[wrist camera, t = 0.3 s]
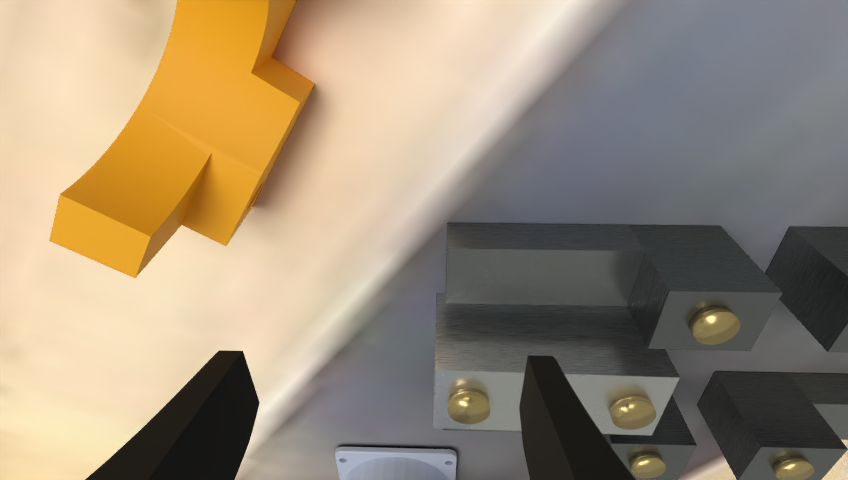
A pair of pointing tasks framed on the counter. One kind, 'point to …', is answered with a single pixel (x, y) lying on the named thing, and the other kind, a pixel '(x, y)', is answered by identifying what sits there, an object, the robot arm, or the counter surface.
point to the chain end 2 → (791, 392)
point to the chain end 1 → (623, 296)
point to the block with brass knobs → (546, 336)
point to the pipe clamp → (190, 138)
